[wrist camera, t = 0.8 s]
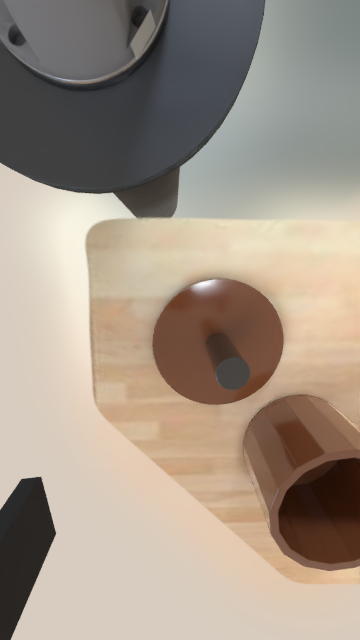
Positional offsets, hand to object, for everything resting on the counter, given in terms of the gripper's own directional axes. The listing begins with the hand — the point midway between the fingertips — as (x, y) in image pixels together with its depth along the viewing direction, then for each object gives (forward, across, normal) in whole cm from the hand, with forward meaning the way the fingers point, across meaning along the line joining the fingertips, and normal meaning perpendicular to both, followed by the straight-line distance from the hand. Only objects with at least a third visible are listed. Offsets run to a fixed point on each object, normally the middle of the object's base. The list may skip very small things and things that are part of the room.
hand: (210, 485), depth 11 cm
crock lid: (+19, +3, 0) cm, 19 cm away
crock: (+20, +12, -14) cm, 27 cm away
